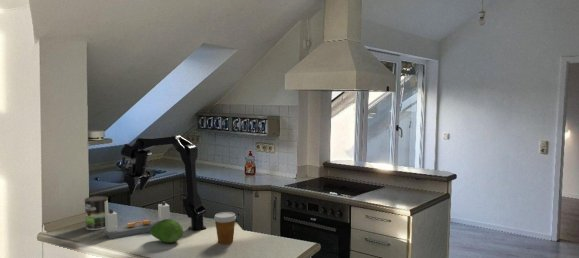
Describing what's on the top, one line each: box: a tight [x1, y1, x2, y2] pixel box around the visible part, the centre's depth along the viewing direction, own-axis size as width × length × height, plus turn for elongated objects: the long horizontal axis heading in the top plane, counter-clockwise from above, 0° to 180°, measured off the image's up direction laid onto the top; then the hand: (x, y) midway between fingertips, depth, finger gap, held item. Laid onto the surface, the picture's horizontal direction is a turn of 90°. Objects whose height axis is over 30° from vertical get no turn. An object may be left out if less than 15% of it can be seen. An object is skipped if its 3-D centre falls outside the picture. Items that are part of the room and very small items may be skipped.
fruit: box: [149, 218, 184, 244], centre depth 200 cm, size 15×10×10 cm, turn 64°
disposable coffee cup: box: [213, 211, 237, 245], centre depth 198 cm, size 10×10×12 cm
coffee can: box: [84, 195, 109, 231], centre depth 222 cm, size 10×10×14 cm
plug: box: [157, 200, 171, 221], centre depth 221 cm, size 5×4×10 cm
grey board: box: [105, 219, 160, 240], centre depth 215 cm, size 8×28×2 cm, turn 123°
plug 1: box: [105, 208, 119, 232], centre depth 208 cm, size 5×4×10 cm
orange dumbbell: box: [126, 219, 151, 227], centre depth 215 cm, size 3×10×2 cm, turn 122°
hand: (136, 192), depth 228 cm, fingers open, 9 cm apart
